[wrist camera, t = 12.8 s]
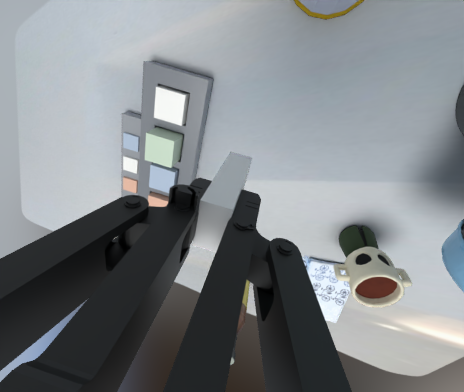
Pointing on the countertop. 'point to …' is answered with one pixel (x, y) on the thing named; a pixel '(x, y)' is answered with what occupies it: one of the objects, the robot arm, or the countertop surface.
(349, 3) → the soap bottle
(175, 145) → the key sage
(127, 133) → the keypad
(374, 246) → the character mug
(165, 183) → the key slate
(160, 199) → the key terracotta
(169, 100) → the key white
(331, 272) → the folded patterned cloth
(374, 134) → the countertop surface
